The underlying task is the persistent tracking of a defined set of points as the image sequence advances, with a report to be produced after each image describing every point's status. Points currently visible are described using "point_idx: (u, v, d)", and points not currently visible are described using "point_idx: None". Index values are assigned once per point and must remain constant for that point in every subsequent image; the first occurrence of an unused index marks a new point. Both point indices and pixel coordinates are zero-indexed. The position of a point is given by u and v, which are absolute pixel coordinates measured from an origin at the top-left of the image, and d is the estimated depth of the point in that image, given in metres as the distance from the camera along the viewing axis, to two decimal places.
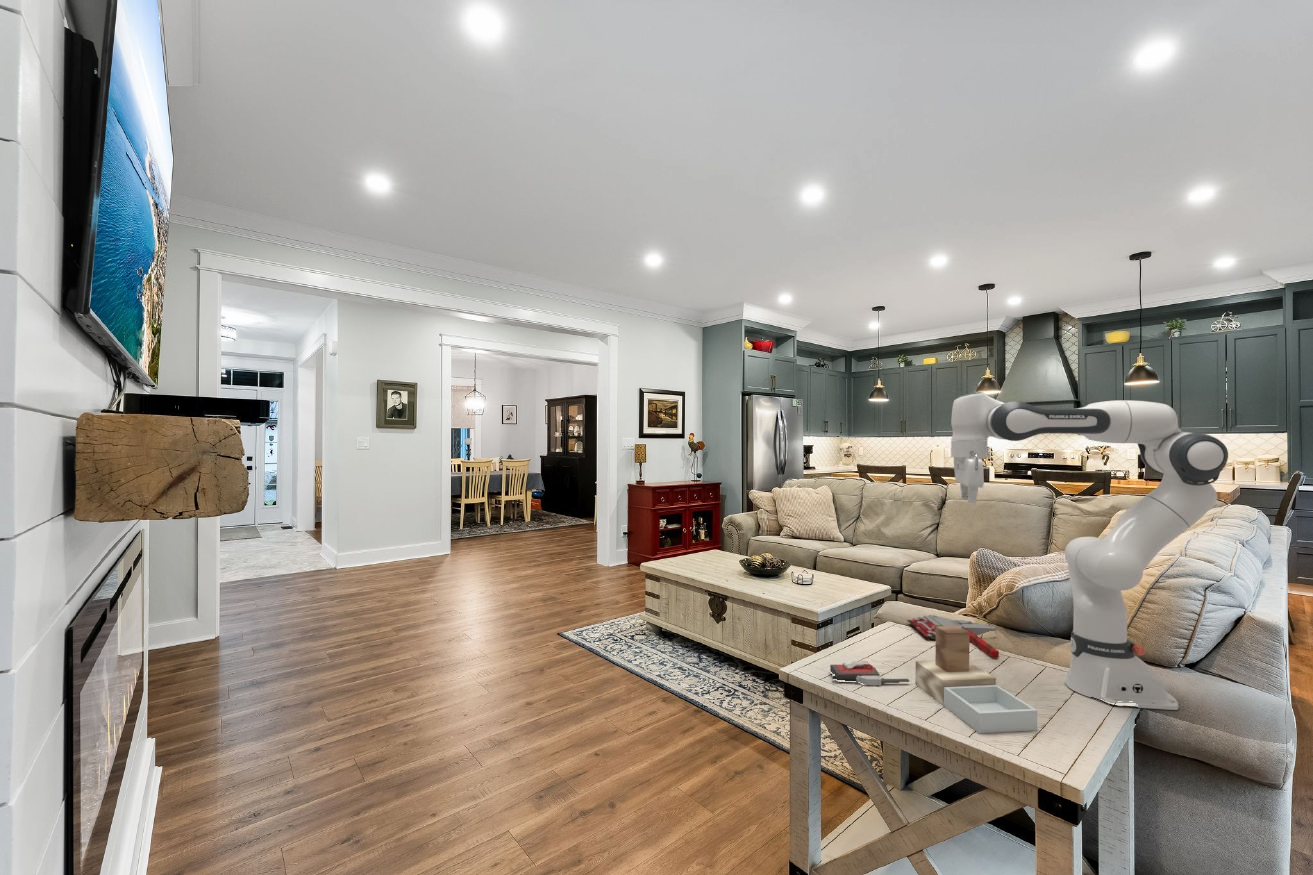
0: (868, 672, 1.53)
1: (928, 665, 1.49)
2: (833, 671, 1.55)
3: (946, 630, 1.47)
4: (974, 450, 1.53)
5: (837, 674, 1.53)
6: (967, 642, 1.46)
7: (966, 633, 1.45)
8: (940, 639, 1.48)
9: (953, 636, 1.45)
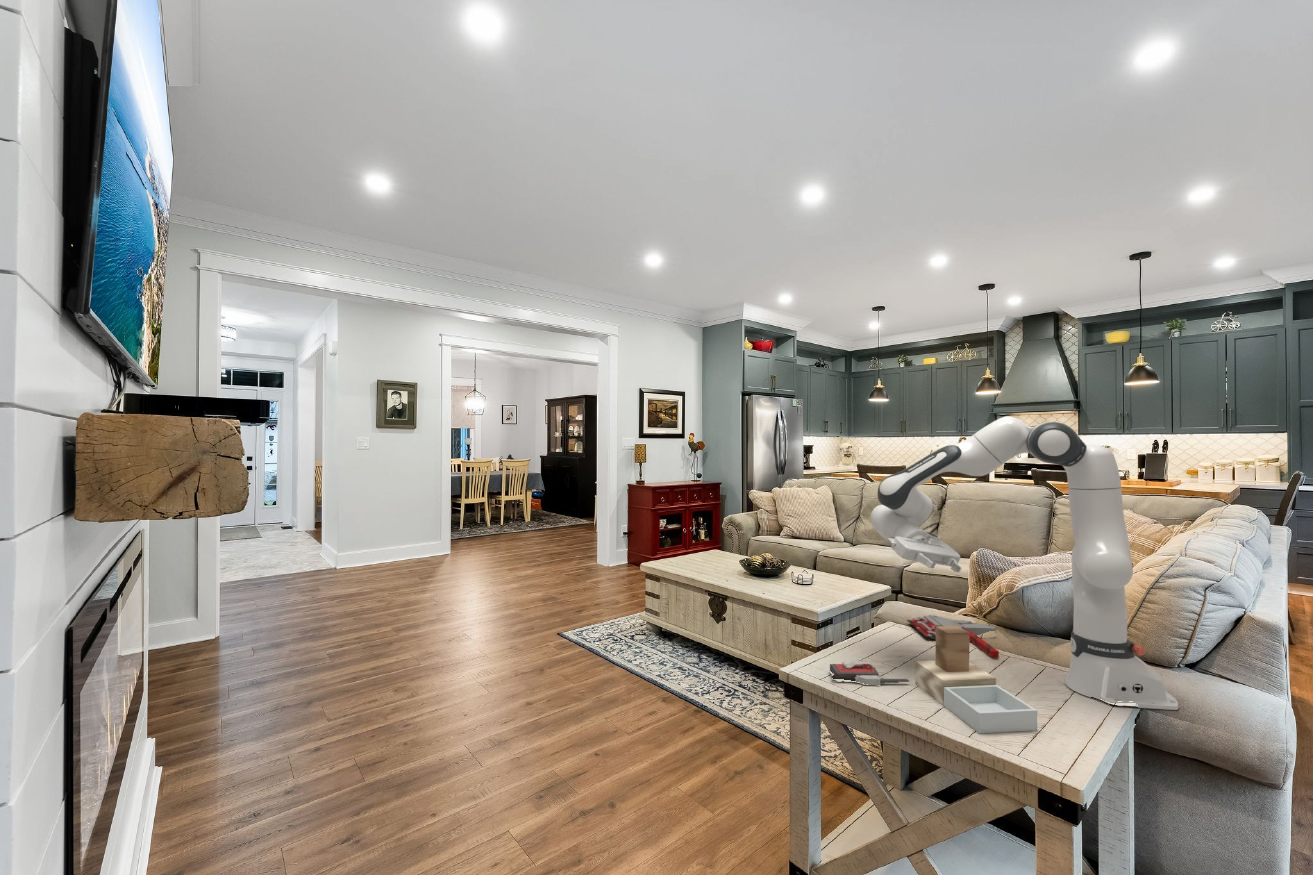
0: (867, 672, 1.53)
1: (928, 665, 1.49)
2: (832, 670, 1.56)
3: (946, 630, 1.47)
4: (900, 537, 1.65)
5: (836, 673, 1.53)
6: (967, 642, 1.46)
7: (966, 633, 1.45)
8: (940, 639, 1.48)
9: (953, 636, 1.45)
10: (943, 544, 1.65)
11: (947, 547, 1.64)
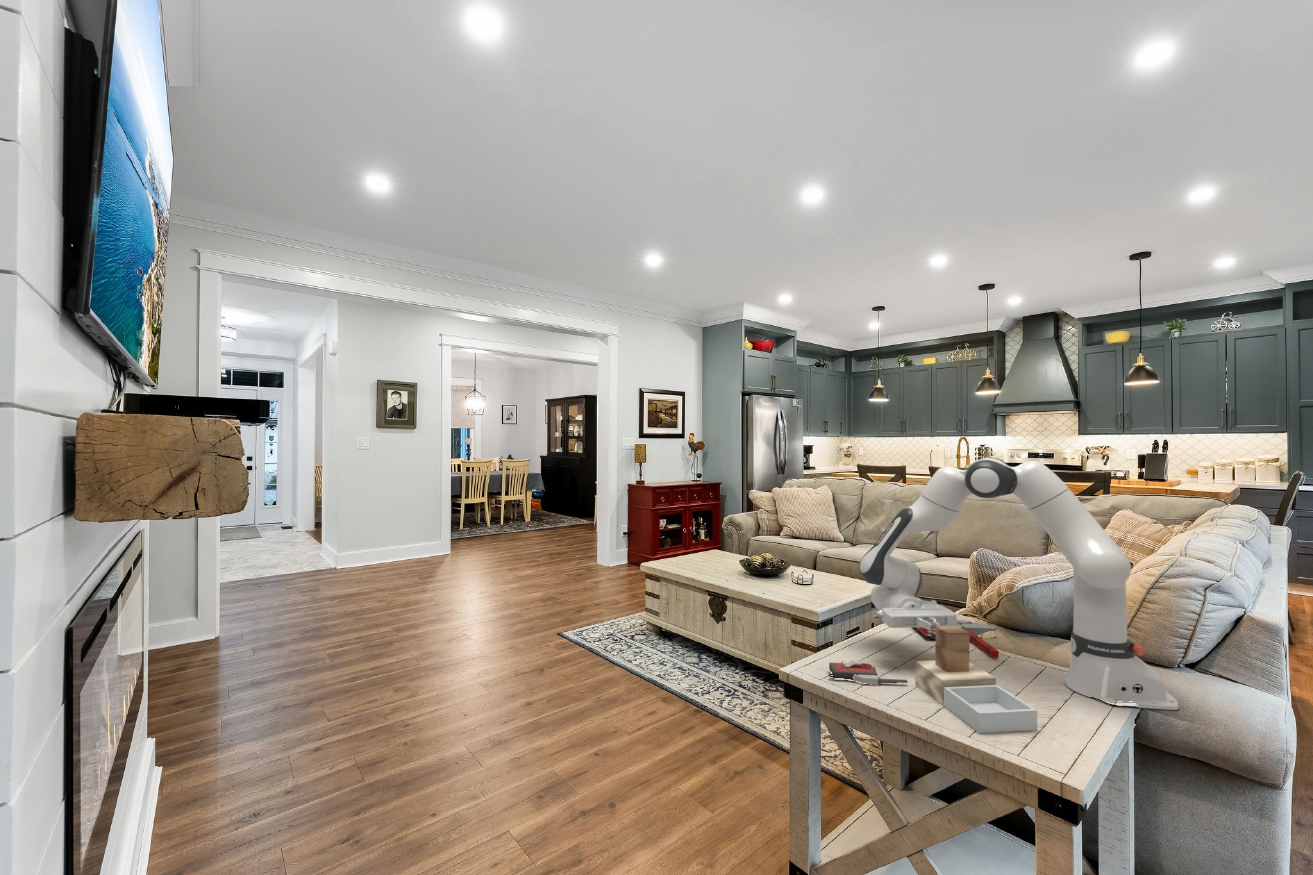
0: (866, 671, 1.53)
1: (928, 665, 1.49)
2: (831, 669, 1.57)
3: (946, 630, 1.47)
4: None
5: (834, 672, 1.54)
6: (967, 642, 1.46)
7: (966, 633, 1.45)
8: (940, 639, 1.48)
9: (953, 636, 1.45)
10: (938, 606, 1.66)
11: (942, 608, 1.65)
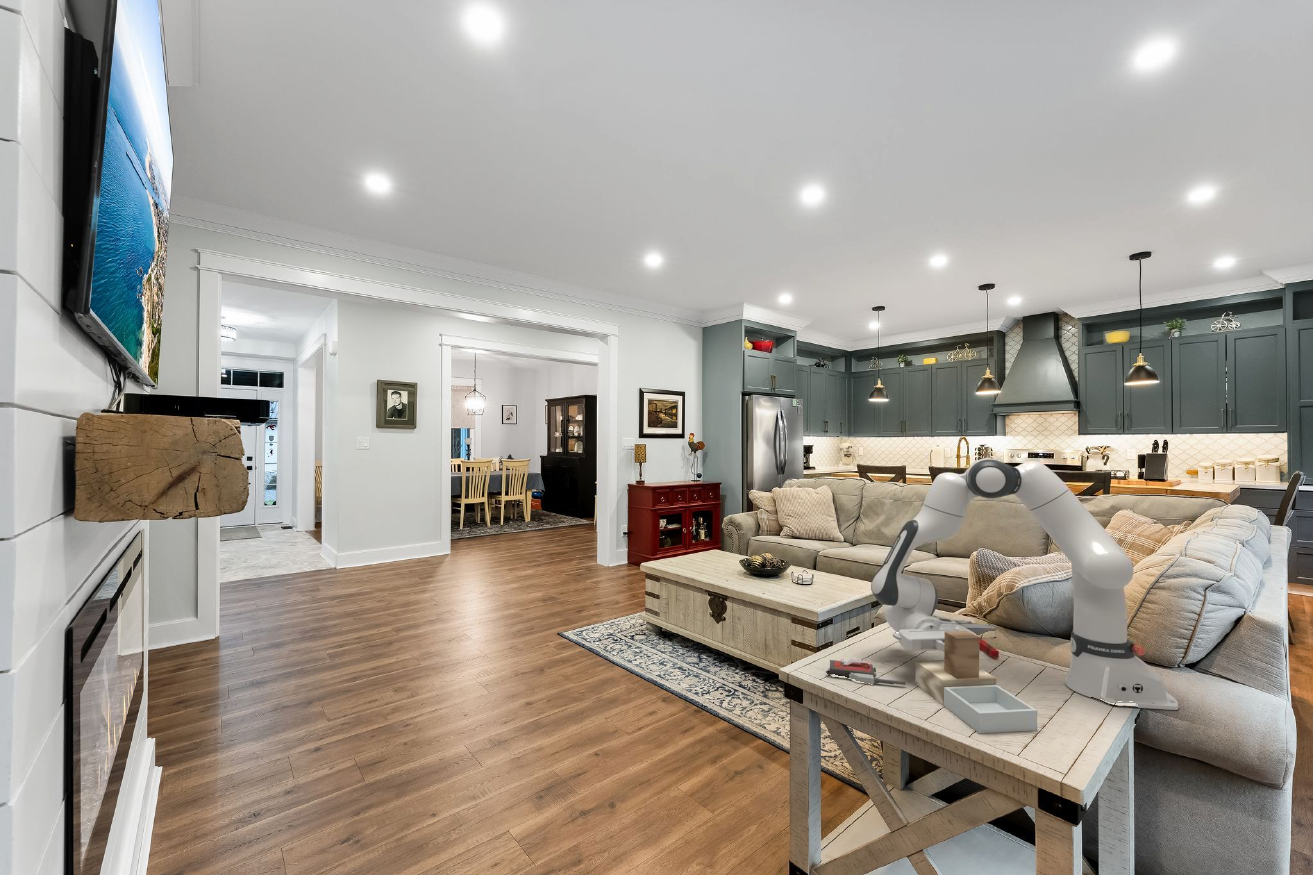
0: (863, 670, 1.54)
1: (928, 665, 1.49)
2: None
3: (955, 635, 1.43)
4: None
5: (831, 669, 1.56)
6: (977, 648, 1.42)
7: (976, 638, 1.42)
8: (949, 644, 1.44)
9: (963, 642, 1.41)
10: (958, 627, 1.58)
11: (962, 629, 1.56)
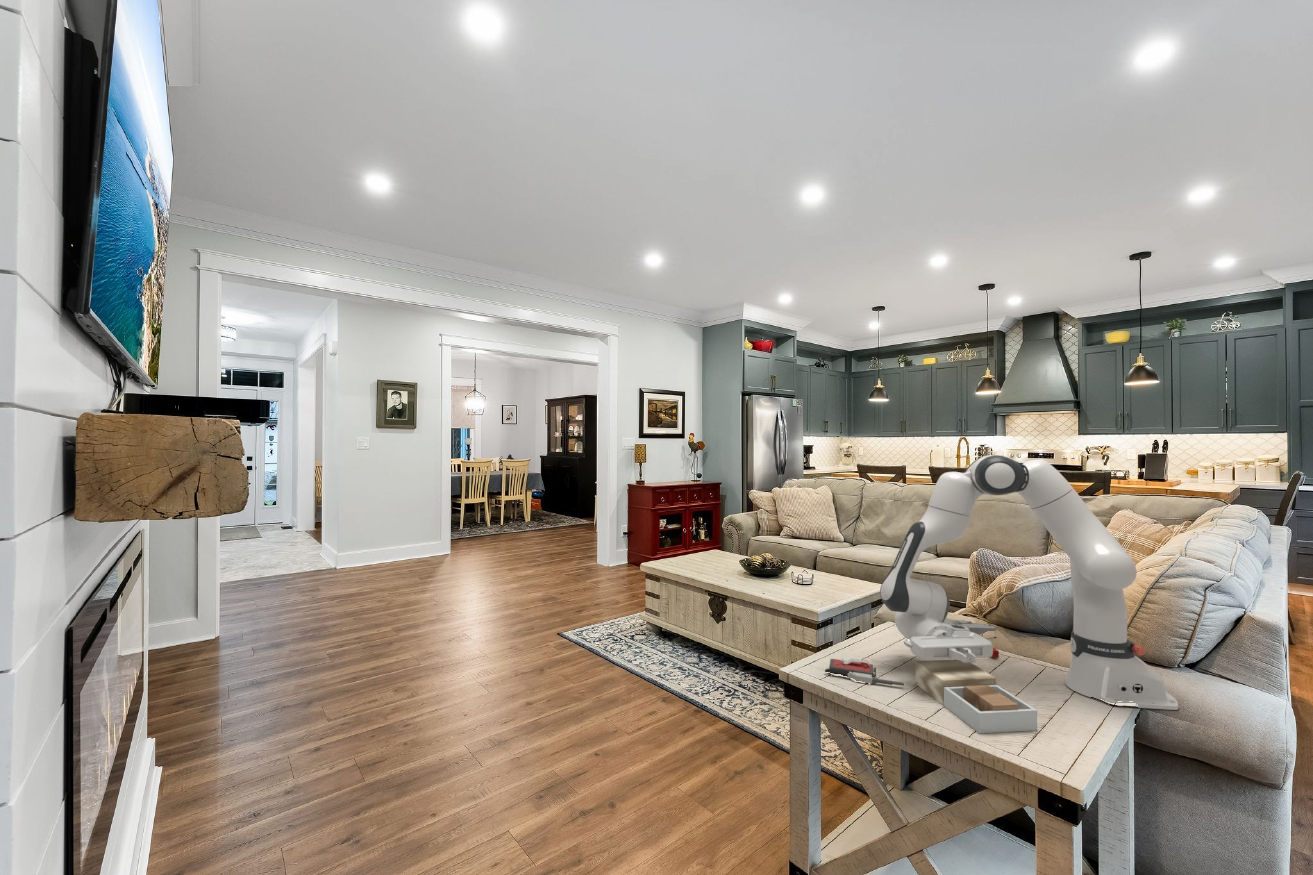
0: (862, 670, 1.54)
1: (928, 665, 1.49)
2: None
3: None
4: None
5: (830, 667, 1.57)
6: None
7: None
8: (984, 709, 1.31)
9: None
10: (972, 634, 1.52)
11: (976, 637, 1.51)
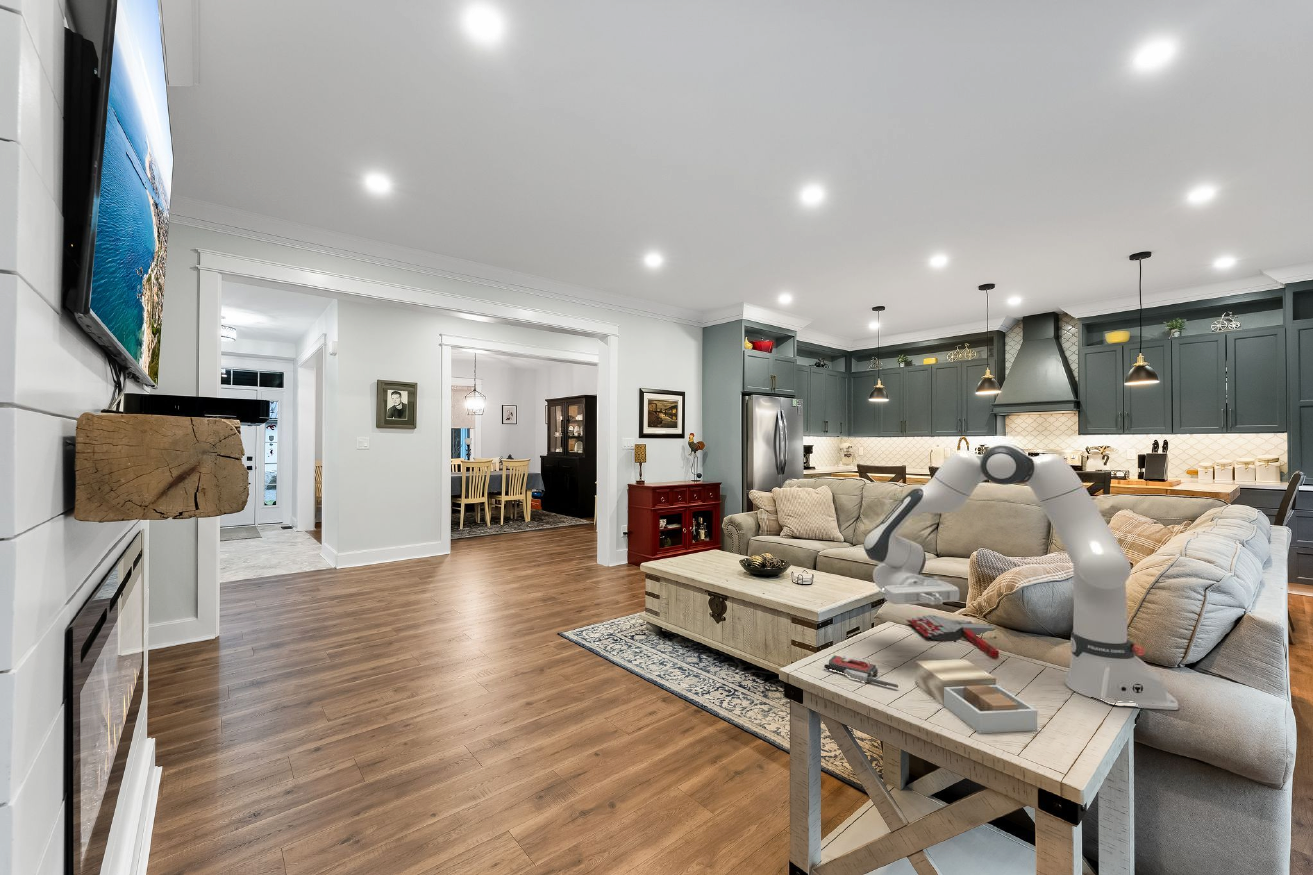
0: (859, 668, 1.55)
1: (928, 665, 1.49)
2: None
3: None
4: None
5: (829, 663, 1.60)
6: None
7: None
8: (984, 709, 1.31)
9: None
10: (941, 582, 1.66)
11: (945, 584, 1.64)
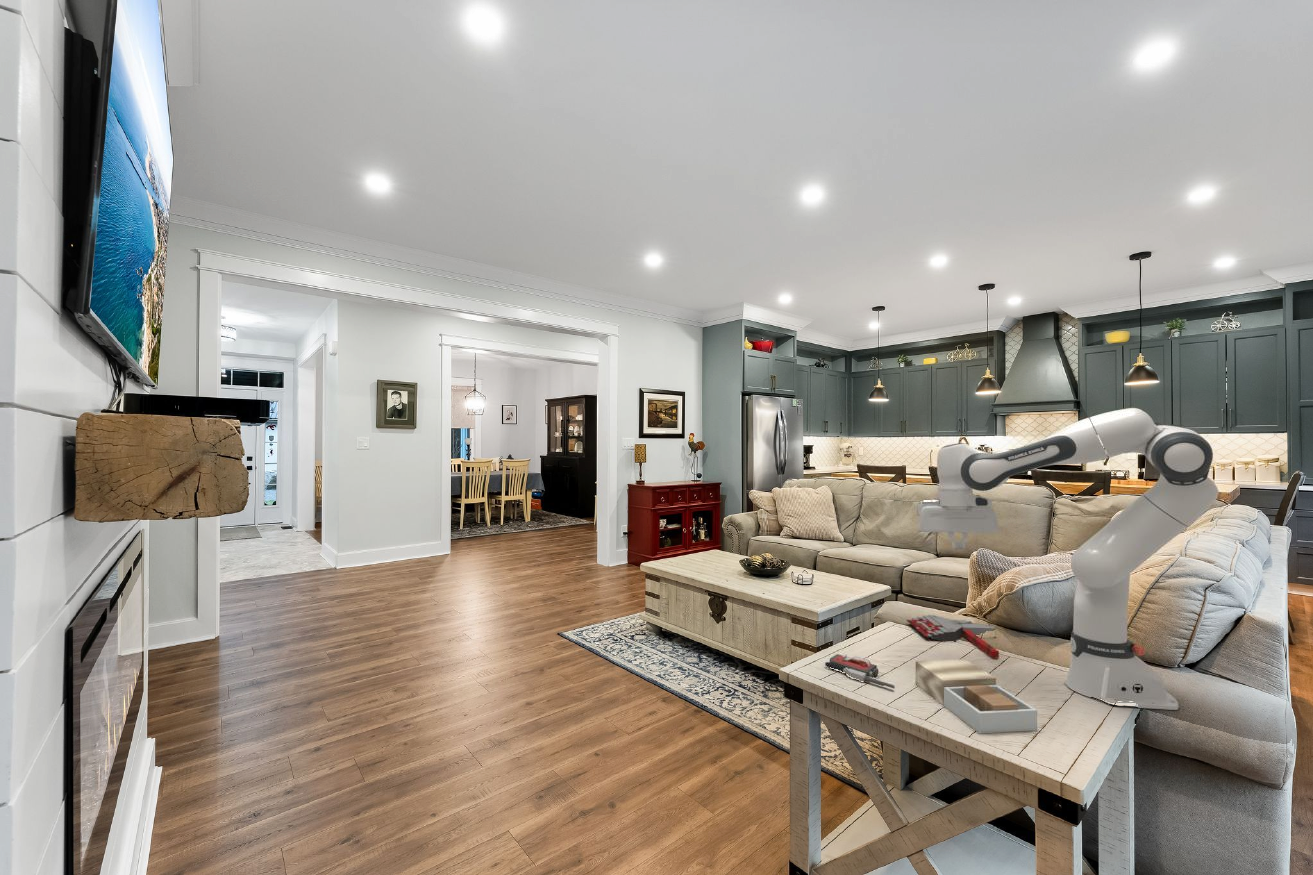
0: (858, 668, 1.56)
1: (928, 665, 1.49)
2: None
3: None
4: (939, 498, 1.65)
5: (830, 661, 1.61)
6: None
7: None
8: (984, 709, 1.31)
9: None
10: (988, 512, 1.60)
11: (990, 517, 1.60)
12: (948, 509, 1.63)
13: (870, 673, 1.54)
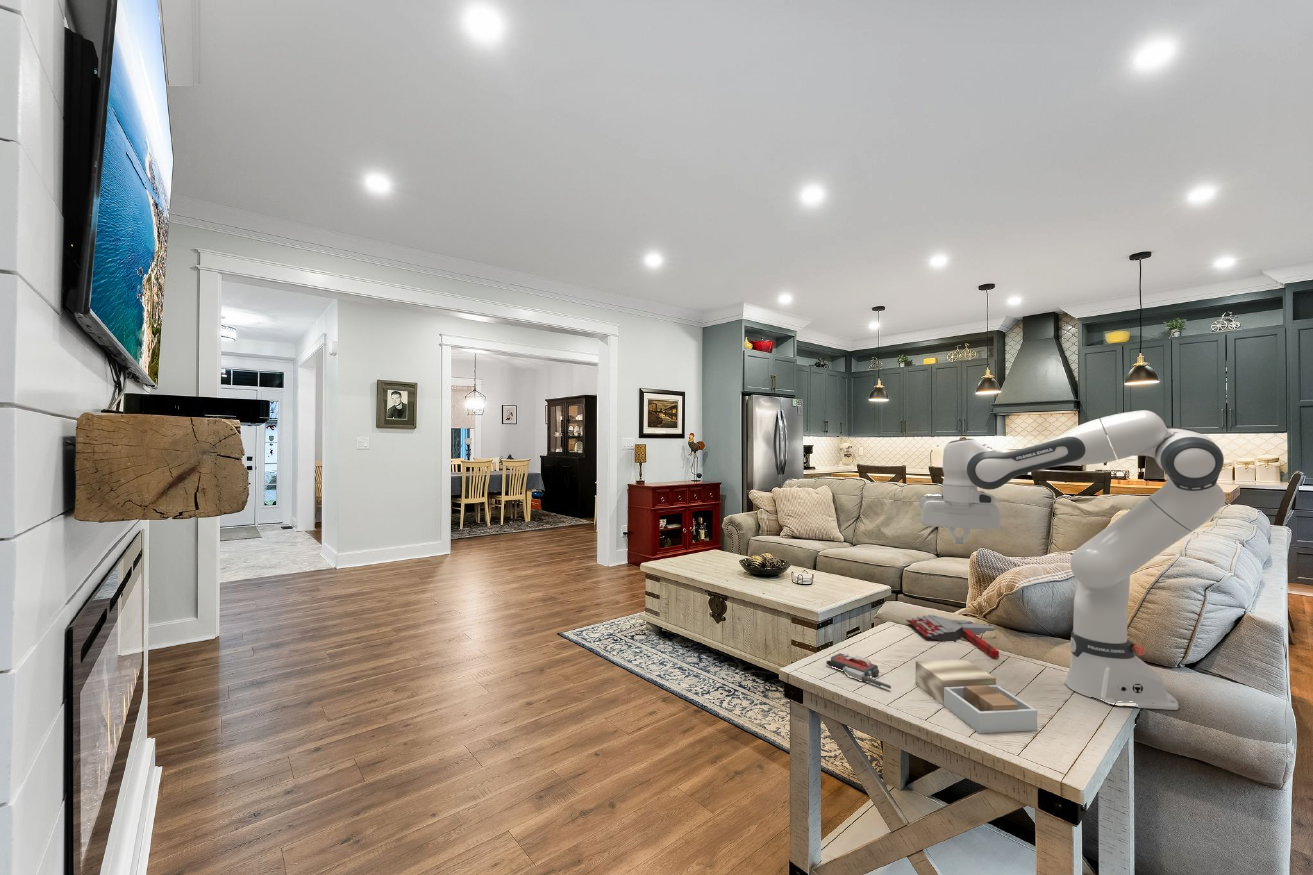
0: (858, 667, 1.56)
1: (928, 665, 1.49)
2: None
3: None
4: (943, 493, 1.65)
5: (831, 659, 1.63)
6: None
7: None
8: (984, 709, 1.31)
9: None
10: (991, 509, 1.59)
11: (993, 514, 1.60)
12: (951, 504, 1.63)
13: (869, 673, 1.54)
